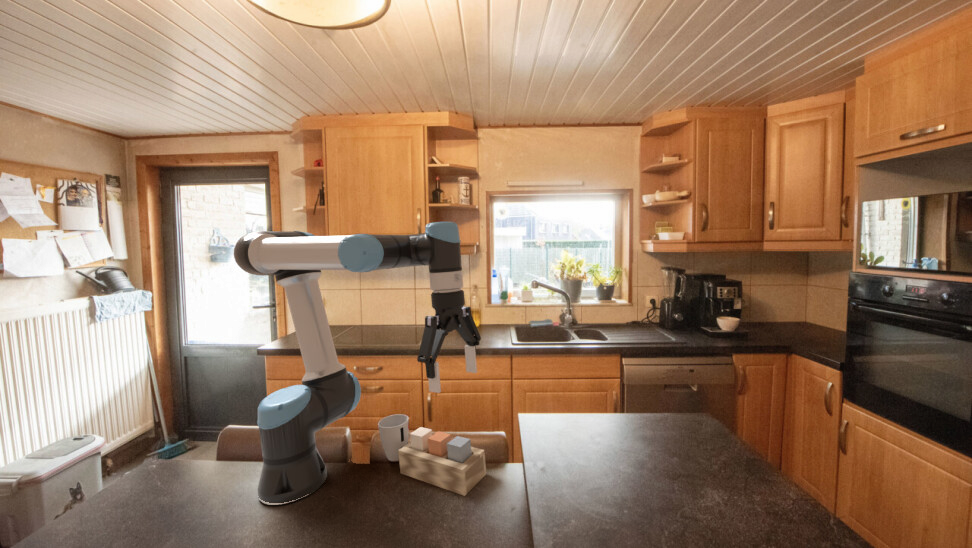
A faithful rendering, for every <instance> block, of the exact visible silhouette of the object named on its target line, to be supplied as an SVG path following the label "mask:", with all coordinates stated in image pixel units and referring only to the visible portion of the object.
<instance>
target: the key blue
mask: <svg viewBox="0 0 972 548" xmlns="http://www.w3.org/2000/svg"><path fill="white" fill-rule="evenodd" d="M471 443H472V441H471V438H467V437H463V436H459V435H456V436H455V437H454V438H453V439H452V438H451V441H450V442H448V443H447V450H448V460H452V461H455V462H458V463H464V462H465V461H466V460H467V459H468V458H469V457H470V456H472V451H471V447H472V444H471Z"/></svg>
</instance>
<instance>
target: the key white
mask: <svg viewBox="0 0 972 548" xmlns="http://www.w3.org/2000/svg"><path fill="white" fill-rule="evenodd" d="M432 435H434V434H433V429H431V428H426V427H422V426H420V427H418V428H417V429H415V430H414V431H412V432H409V441H410V442H411V449H414V450H418V451H421V452H424V451H425V450H427V449H428V448H429V447H428V438H429V437H431V436H432Z"/></svg>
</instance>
